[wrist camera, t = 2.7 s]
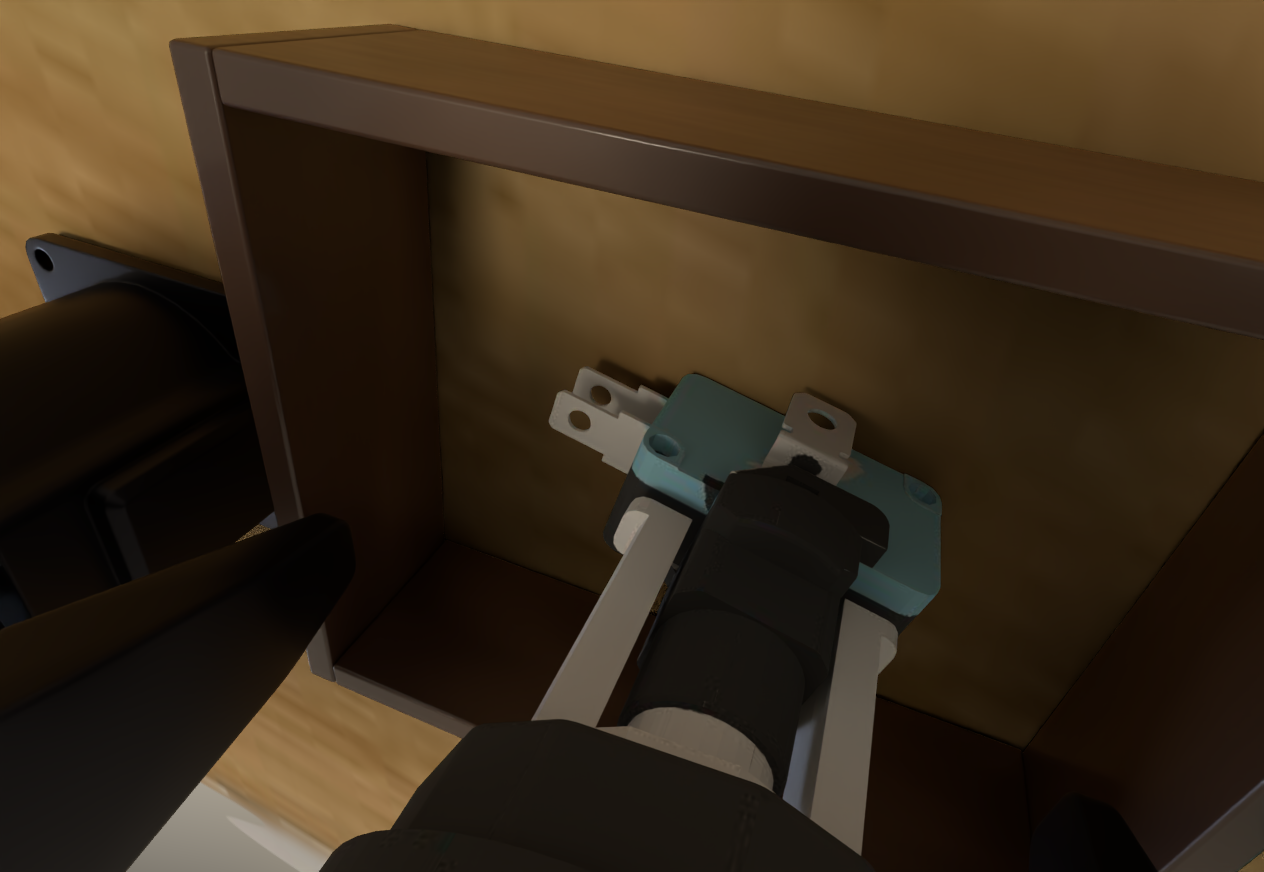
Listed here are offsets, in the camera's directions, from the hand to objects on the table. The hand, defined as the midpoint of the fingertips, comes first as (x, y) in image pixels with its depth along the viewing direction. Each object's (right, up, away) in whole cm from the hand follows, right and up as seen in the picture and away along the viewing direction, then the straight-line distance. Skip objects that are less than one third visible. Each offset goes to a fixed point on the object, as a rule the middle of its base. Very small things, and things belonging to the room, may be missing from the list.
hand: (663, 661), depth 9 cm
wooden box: (+2, +2, +4) cm, 5 cm away
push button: (+2, +3, +4) cm, 5 cm away
